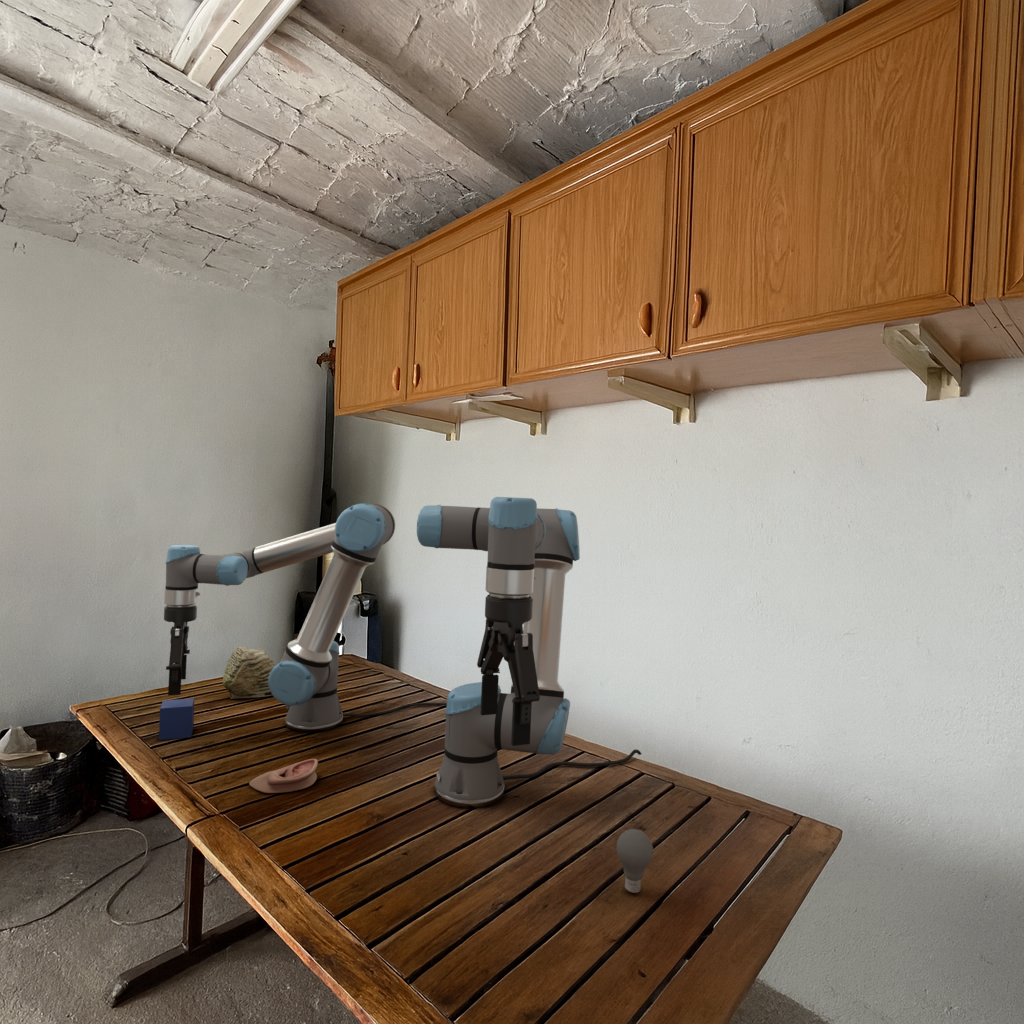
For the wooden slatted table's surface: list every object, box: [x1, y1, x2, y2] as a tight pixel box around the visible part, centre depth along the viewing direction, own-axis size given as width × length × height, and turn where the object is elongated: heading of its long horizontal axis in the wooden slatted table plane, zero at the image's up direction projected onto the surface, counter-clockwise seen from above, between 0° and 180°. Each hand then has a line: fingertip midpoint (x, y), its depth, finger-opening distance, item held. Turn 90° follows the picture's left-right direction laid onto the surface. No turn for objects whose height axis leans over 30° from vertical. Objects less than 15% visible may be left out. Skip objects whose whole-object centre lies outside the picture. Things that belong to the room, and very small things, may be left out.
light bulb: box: [615, 828, 654, 894], centre depth 106 cm, size 6×6×10 cm
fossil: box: [222, 646, 276, 699], centre depth 198 cm, size 9×18×15 cm, turn 132°
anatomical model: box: [248, 758, 319, 794], centre depth 139 cm, size 13×4×12 cm
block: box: [158, 697, 195, 741], centre depth 164 cm, size 7×7×8 cm
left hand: (177, 686), depth 164 cm, fingers open, 13 cm apart
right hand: (503, 728), depth 100 cm, fingers open, 13 cm apart
